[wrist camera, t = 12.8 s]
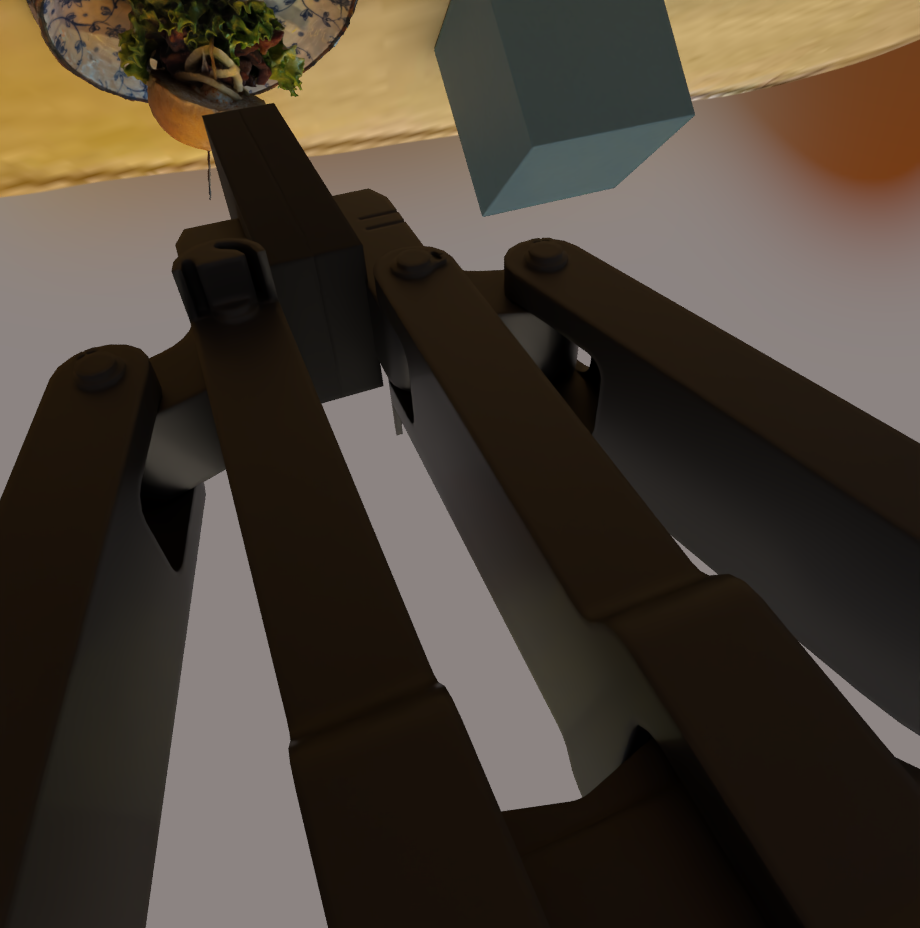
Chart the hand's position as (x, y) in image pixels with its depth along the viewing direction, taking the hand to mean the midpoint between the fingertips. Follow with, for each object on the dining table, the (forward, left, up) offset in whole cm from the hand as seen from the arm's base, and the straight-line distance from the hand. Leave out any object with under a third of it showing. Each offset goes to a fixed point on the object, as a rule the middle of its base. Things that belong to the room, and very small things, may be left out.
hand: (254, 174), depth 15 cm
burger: (+1, -12, -13) cm, 18 cm away
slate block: (+16, -16, -13) cm, 26 cm away
